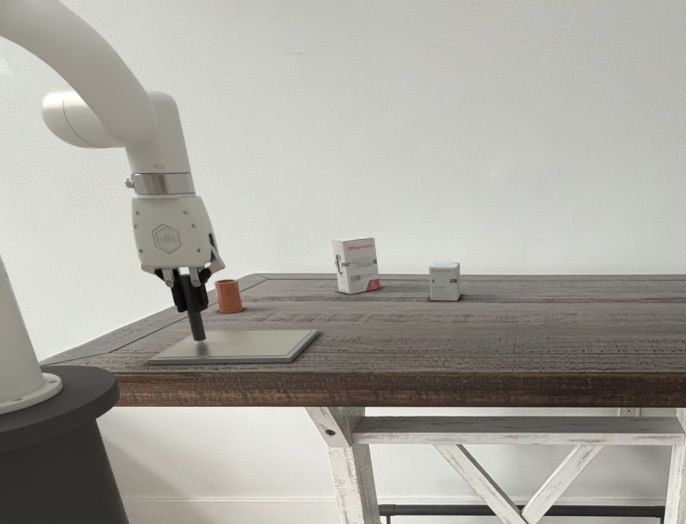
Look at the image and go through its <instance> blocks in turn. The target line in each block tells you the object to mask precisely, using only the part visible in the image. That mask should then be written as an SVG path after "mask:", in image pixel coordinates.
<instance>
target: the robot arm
mask: <svg viewBox="0 0 686 524" xmlns="http://www.w3.org/2000/svg"><path fill="white" fill-rule="evenodd" d="M0 37H1V38H4V39H6V40H8V41H10V42H12V43H14V44H16V45H18V46H19V47H21V48H23V49H24V50H26V51H28V52H29V53H30V54H32V55H33V56H35V57H37V58H38V59H40V61H42V62H44V63H45V64H46V65H48V66H49V67H50V68H51V69H52V70H53V71H55V72H56V73H57V74H58V75H59V76H60V77H61V78H62V79H63V80H64V81H65V82H66V83H67V84H62V85H58V86H55V87H53V88H52V89H50V90H49V91H47V92H46V93H45V95H44V96H43V98H42V100H41V102H40V114H41V117H42V121H43V122H44V125H45V126H46V127H47V128H48V130H49V131H50V132H51V133H52V134H53V135H54V136H55V137H57V138H58V139H60V140H61V141H63V142H65V143H67V144H68V145H71V146H74V147H78V148H83V149H93V150H94V149H115V148H117V149H119V148H124V149H125V154H126V157H127V160H128V165H129V169H130V173H131V174H130V178H125V180H124V184H125V186H126V188H128V189H133V190H134V193H135V194H136V197H131V199H130V200H131V201H130V202H131V203H130V210H131V223H132V231H133V238H134V243H135V248H136V253H137V256H138V260H139V262H140V264H141V265H140V269H141V271H143V272H145V273H147V274H151V275H153V276H154V275H155V277H157V278H159V279H160V280H161V281H163V282H164V284H165V285H166V287H168V288H170V292H171V296H172V301H173V303H174V306H175V307H176V309H177V312H178V313H179V314H181V313H182V314H183V313H185V312H187V309H186V305H185V300H184V296H183V292H182V287H181V283H180V279H179V275H182V273H181V268H188V272H189V273H188V274H190V278H191V282H192V287H190V288H189V290H190V295H191V299H192V303H193V308H194V311H195V312H200V313H201V312H204V311H205V310H207V309H208V308H209V304H210V300H209V296H208V291H207V287H206V284H207V283H208V282H209V279H210V278H211V277H212V276H213V275H214V274H216V273H218V272H219V271H222V270H225V268H226V264H225V262H224V260H223V259H222V258H221V256H220V253H219V247H218V242H217V238H216V234H215V231H214V227H213V225H212V220H211V218H210V215H209V213H208V210H207V208H206V205H205V203H204V201H203V198H202V197H201V195H197V193H196V187H195V183H194V177H193V173H192V169H191V165H190V164H191V163H190V160H189V155H188V149H187V144H186V140H185V134H184V130H183V125H182V120H181V115H180V111H179V108H178V103H177V102H176V100H175V98H174V97H173V96H171V95H170V94H169V93H167V92H163V91H159V90H158V91H157V90H148V89H145V88H144V86H143V85H142V84H141V82H140V80H139V79H138V78H137V77H136V75H135V74H134V73H133V71H132V70H131V69H130V67H129V66H128V65H127V63H126V62H125V61H124V60H123V58H122V57H121V56H120V55H119V53H118V52H117V50H116V49H115V48H114V47H113V46H112V45H111V44H110V43H109V41H108V40H106V39H105V37H104V36H103V35H102V34H100V33H99V32H98V31H97V29H95V28H94V27H93V26H92V25H91V24H89V22H87V21H86V20H85V19H83V18H82V17H81V16H80V15H78V14H77V13H75V12H74V11H72V10H71V9H70V8H69V7H67V5H65V4H64V3H63V2H61V1H60V0H0ZM209 263H210V264H209ZM207 264H209V265H208V266H206V265H207ZM19 306H20V305H19V303H18V300H17V296H16V295H15V291H14V288H13V286H12V283H11V280H10V277H9V274H8V271H7V268H6V266H5V262H4V260H3V258H2V255H1V254H0V415H3V414H7V413H11V412H15V411H18V410H21V409H25V408H28V407H31V406H33V405H36V404H39V403H41V402H43V401H46V400H48V399H50V398H51V397H53V396H55V395H56V394H58V393H59V392H60V391H61V389H62V388H63V384H62V381H61V379H60V377H58V376H56V375H53V374H49V373H42V371H41V369H40V367H41V366H40V363H39V360H38V357H37V355H36V351H35V349H34V345H33V343H32V340H31V338H30V335H29V332H28V329H27V326H26V323H25V320H24V318H23V314H22V311H21V309H20V307H19Z"/></svg>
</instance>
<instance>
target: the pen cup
mask: <svg viewBox="0 0 686 524" xmlns="http://www.w3.org/2000/svg"><path fill="white" fill-rule="evenodd" d="M213 285H214V289H215V295H216V299H217V303H218V309H219V312H220V313H222V314H235V313H238V312H242V311H243V310H244V308H243V302H242V301H243V300H242V296H241V290H240V286H239V281H238V279H234V278H226V279H225V278H224V279H219V280H215V281H214V282H213Z"/></svg>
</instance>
